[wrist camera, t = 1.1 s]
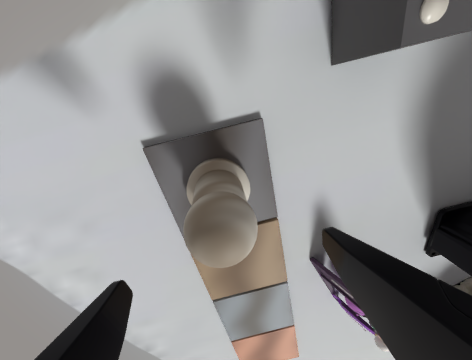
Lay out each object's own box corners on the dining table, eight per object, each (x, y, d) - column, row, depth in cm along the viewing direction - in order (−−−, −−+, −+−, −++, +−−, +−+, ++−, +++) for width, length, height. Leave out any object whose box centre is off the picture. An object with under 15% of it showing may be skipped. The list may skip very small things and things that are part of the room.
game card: (369, 320, 14) (391, 361, 17) (410, 270, 15) (424, 319, 18) (304, 263, 20) (331, 303, 23) (336, 230, 21) (357, 273, 24)
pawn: (241, 151, 14) (266, 199, 7) (253, 204, 16) (280, 277, 9) (178, 167, 14) (148, 228, 7) (198, 218, 16) (188, 301, 9)
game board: (261, 118, 13) (262, 118, 13) (297, 353, 28) (299, 356, 28) (144, 147, 13) (142, 148, 13) (244, 367, 28) (244, 370, 28)
